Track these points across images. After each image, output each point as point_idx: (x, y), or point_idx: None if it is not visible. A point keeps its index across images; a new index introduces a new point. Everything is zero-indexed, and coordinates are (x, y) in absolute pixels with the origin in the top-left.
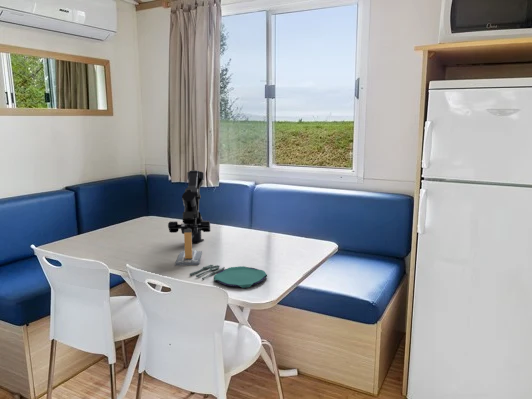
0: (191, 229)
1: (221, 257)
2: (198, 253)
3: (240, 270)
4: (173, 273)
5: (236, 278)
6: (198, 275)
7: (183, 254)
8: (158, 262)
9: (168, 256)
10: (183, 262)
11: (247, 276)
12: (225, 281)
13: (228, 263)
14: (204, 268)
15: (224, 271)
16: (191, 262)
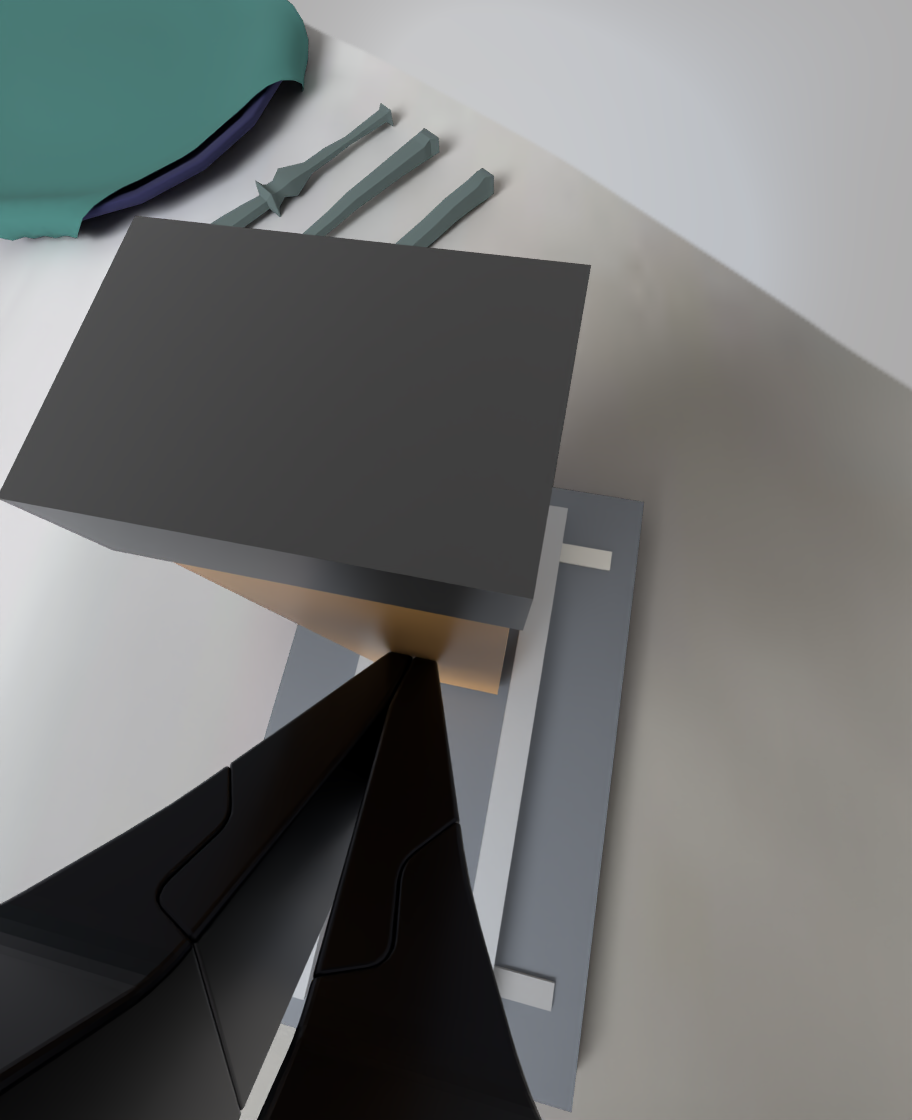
0: (60, 382)
1: (20, 669)
2: None
3: (28, 180)
4: (650, 288)
5: (133, 53)
6: (414, 140)
7: (523, 890)
8: (896, 696)
9: (778, 977)
10: None
11: (39, 74)
12: (232, 17)
13: None
14: None
15: (169, 163)
16: None
